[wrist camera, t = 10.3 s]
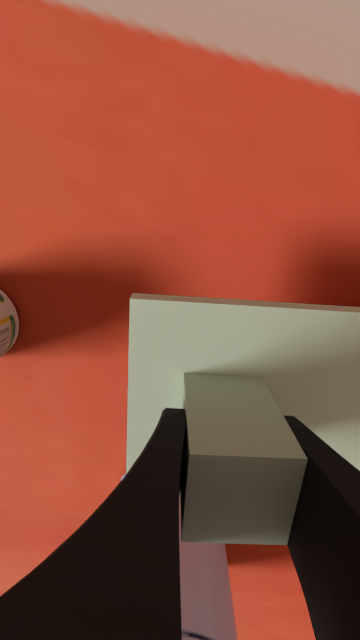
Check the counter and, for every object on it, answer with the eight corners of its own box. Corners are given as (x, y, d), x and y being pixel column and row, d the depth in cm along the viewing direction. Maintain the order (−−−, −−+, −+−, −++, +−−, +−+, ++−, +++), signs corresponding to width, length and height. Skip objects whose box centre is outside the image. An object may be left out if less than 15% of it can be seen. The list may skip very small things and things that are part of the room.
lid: (369, 483, 14) (467, 613, 9) (128, 474, 13) (105, 607, 9) (426, 311, 11) (596, 372, 7) (132, 292, 11) (104, 346, 6)
